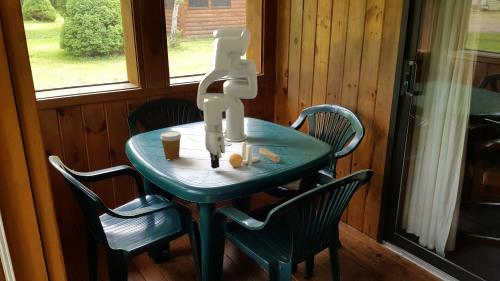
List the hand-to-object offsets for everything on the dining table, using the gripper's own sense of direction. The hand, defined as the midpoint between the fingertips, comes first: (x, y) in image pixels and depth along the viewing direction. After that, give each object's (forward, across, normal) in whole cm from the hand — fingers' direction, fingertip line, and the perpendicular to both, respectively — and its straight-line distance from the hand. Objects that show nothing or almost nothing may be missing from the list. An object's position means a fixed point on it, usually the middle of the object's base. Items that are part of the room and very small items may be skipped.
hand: (215, 167), depth 176 cm
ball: (-2, -1, -10) cm, 10 cm away
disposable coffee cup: (+2, +25, +10) cm, 27 cm away
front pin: (+1, -1, -13) cm, 13 cm away
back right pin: (+2, -2, -16) cm, 16 cm away
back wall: (+2, 0, -28) cm, 28 cm away
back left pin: (+2, +2, -16) cm, 16 cm away
